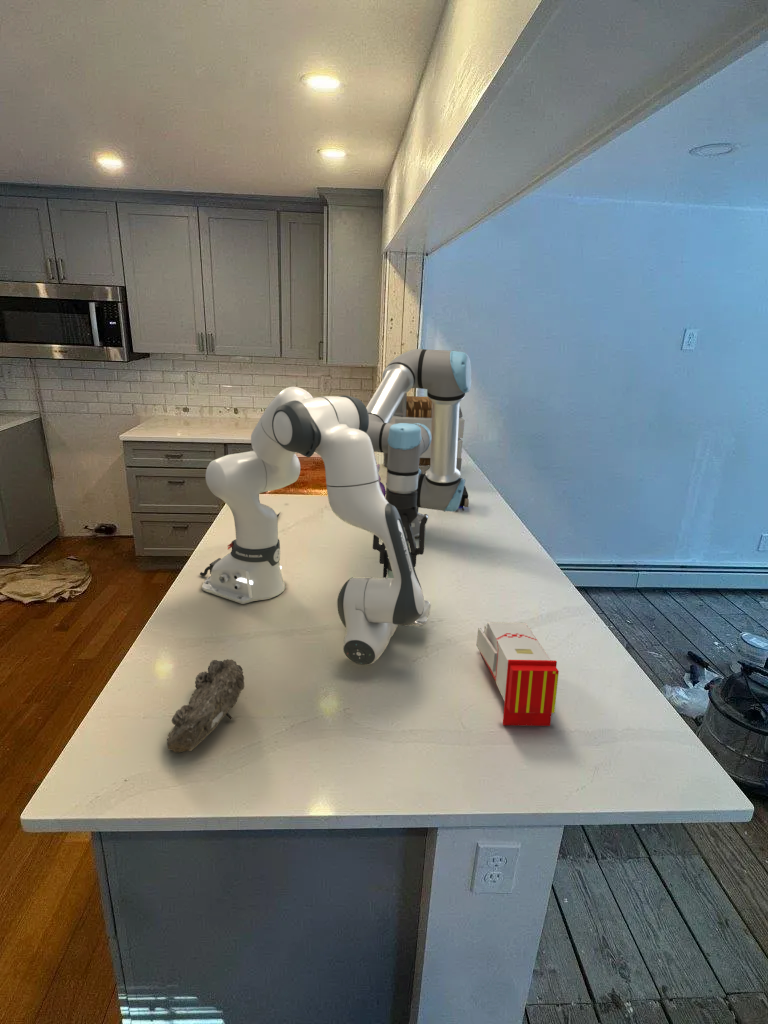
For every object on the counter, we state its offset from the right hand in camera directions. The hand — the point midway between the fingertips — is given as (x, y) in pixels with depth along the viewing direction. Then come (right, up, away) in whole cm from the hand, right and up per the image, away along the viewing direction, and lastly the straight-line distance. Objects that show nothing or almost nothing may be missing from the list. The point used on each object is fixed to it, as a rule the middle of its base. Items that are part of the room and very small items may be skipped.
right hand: (397, 576), depth 143 cm
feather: (-43, +15, +68) cm, 81 cm away
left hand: (0, -4, +2) cm, 5 cm away
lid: (0, +4, -1) cm, 4 cm away
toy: (+24, -21, -21) cm, 38 cm away
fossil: (-36, -23, -35) cm, 55 cm away
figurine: (-7, +21, +90) cm, 93 cm away
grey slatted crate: (+14, +35, +132) cm, 137 cm away
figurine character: (+27, +18, +87) cm, 92 cm away
